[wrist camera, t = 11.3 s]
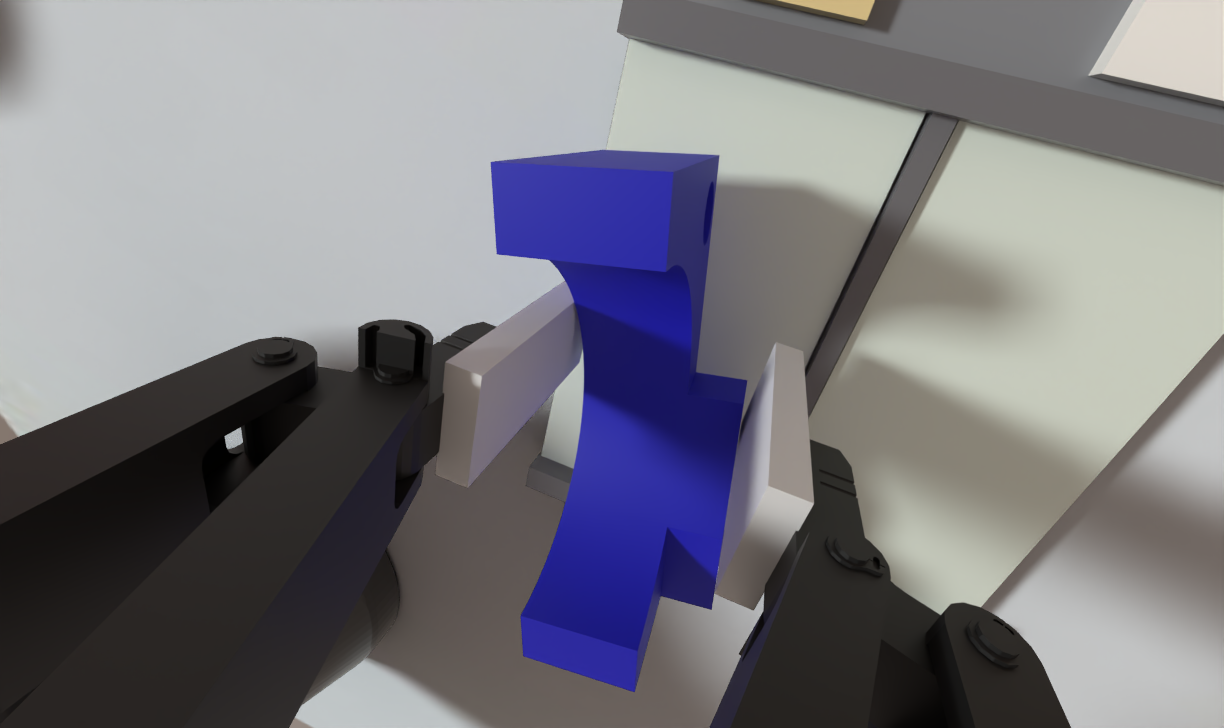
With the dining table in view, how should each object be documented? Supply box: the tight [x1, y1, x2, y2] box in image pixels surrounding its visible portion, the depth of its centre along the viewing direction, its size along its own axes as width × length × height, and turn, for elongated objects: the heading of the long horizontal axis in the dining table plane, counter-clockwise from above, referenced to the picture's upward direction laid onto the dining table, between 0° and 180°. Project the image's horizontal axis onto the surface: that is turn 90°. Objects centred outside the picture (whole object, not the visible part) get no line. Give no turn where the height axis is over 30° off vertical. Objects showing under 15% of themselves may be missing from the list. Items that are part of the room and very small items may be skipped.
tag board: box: [526, 0, 1224, 615], centre depth 16 cm, size 17×21×2 cm
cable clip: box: [491, 150, 747, 692], centre depth 13 cm, size 12×4×6 cm, turn 178°
